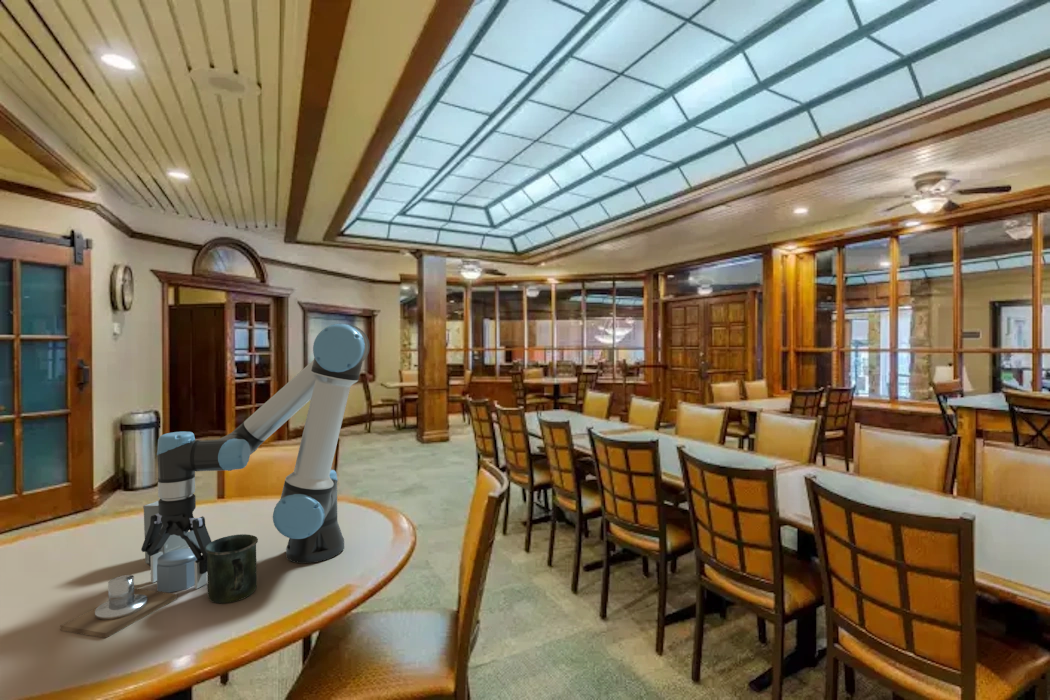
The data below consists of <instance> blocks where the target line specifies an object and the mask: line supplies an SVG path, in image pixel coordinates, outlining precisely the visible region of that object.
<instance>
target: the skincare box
mask: <svg viewBox="0 0 1050 700" xmlns="http://www.w3.org/2000/svg"><path fill="white" fill-rule="evenodd" d="M158 501H159V500H156V501H154V502H151V503H148V504H145V505H143V506H142V507H143V529H144V538H145V537H146V535H147V532H148V529H149V526H150V519H151V516H153V515H155V514H158V513H159V508H158ZM162 527H163V524H162ZM162 527H161V529H162ZM188 532H189V531H188ZM188 532H187V533H188ZM186 548H190V547H189V546H188V544H187V542H186V541H185V539H182V538H181V537H180V536H177V535H170V536H169V538H168V539H167V541H166V542H165V544H164V545H163V547H162V550H161V551H159V552H163V554H165V553H168V552H171V551H174V550H179V549H186ZM159 552H158V553H159ZM144 556H145V558H144V559H145V560H144V561H145V564H149V555H148V554H147V552H144Z"/></svg>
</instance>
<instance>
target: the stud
mask: <svg viewBox="0 0 1050 700" xmlns="http://www.w3.org/2000/svg"><path fill="white" fill-rule="evenodd" d="M107 582H108V583H107V585H108V586H107V587H108V589H107V590H108V600H107V601H105V602H104V603H101V604H100V605H99V606H97V607H95V608H96V610H95V618H96V619H98V620H114V619H119V618H123V617H126V616H129V615H132V614H134V613H136V612H138V611H140V610H142V609H143V608H144V607H145V606H146V605H147V596H145V595H142V594H134V589H135V576H134V575H132V574H123V575H120V576H116V577H114V578H113V577H112V579H110V580H109V581H107Z"/></svg>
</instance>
